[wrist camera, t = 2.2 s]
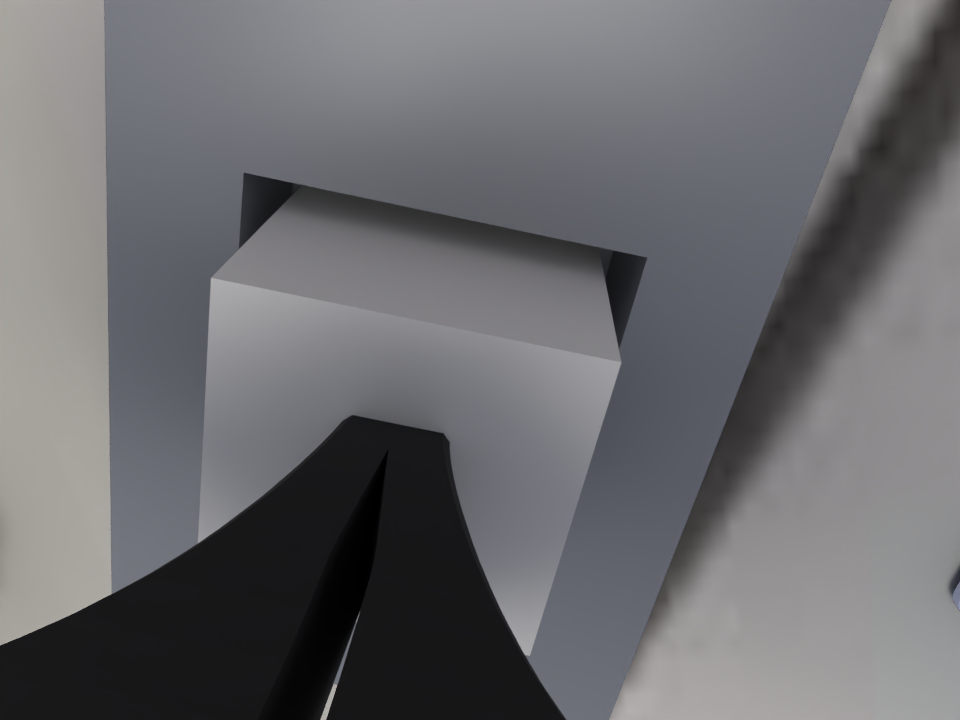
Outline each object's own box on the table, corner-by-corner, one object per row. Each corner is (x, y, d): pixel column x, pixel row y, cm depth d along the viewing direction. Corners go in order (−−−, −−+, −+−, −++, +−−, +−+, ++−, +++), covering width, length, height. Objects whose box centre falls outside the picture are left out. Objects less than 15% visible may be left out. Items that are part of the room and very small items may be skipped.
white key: (597, 242, 14) (621, 362, 10) (531, 479, 16) (529, 656, 12) (306, 180, 14) (210, 278, 10) (281, 429, 16) (195, 591, 12)
